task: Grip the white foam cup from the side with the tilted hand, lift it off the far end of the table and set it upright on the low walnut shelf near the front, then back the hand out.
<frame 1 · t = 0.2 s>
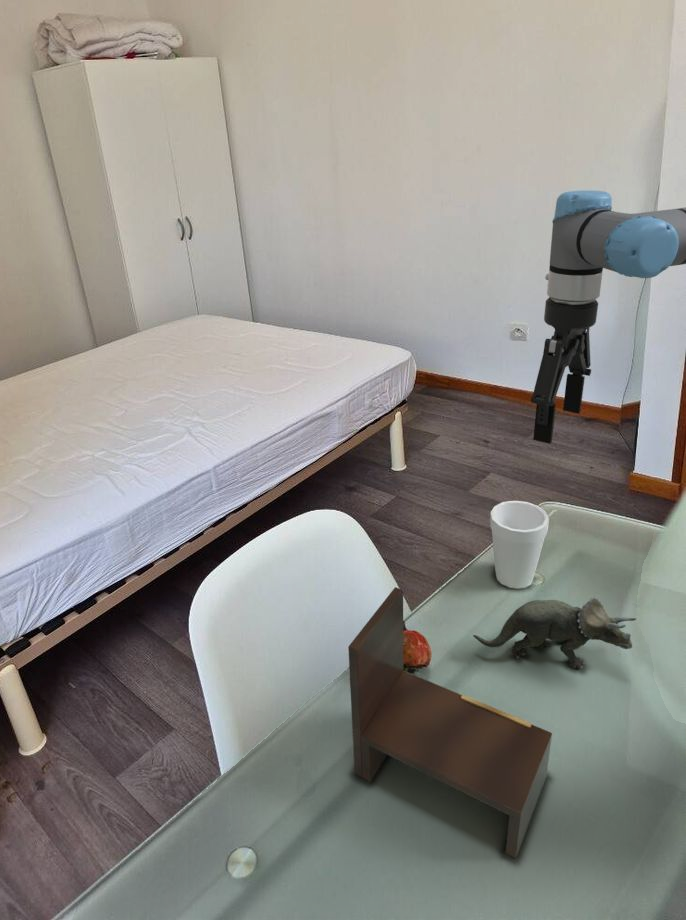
hand: (557, 425, 113), 28 cm above the table, tool pointing down, fingers open, 13 cm apart
pomegranate: (406, 671, 104), on the table
toy dinosaur: (546, 653, 106), on the table
shelf: (453, 777, 88), on the table
foam cup: (514, 577, 122), on the table
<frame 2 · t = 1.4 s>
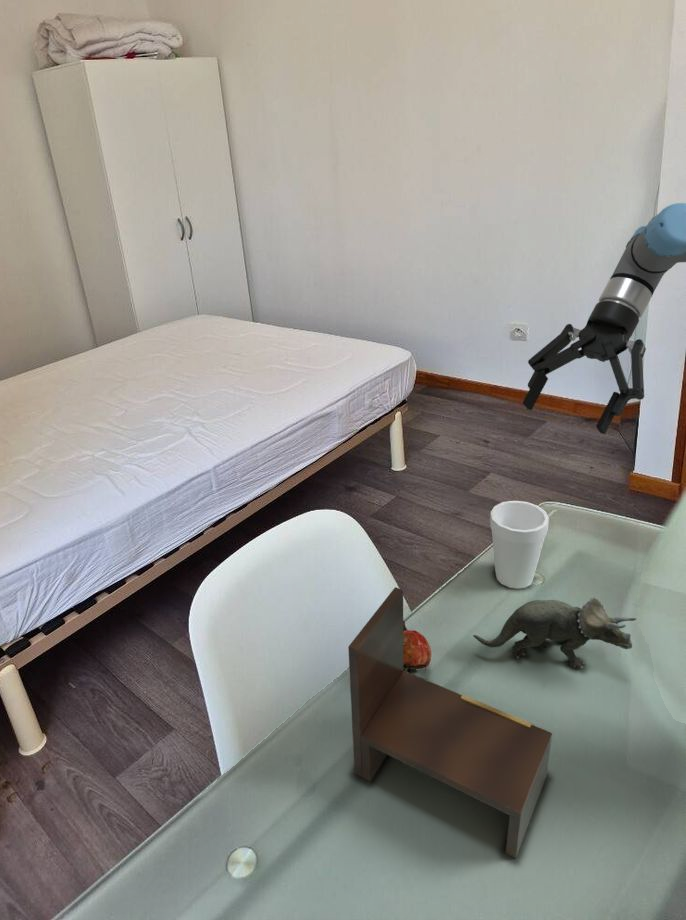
hand: (561, 418, 116), 28 cm above the table, tool tilted 45°, fingers open, 13 cm apart
nothing on the table moved.
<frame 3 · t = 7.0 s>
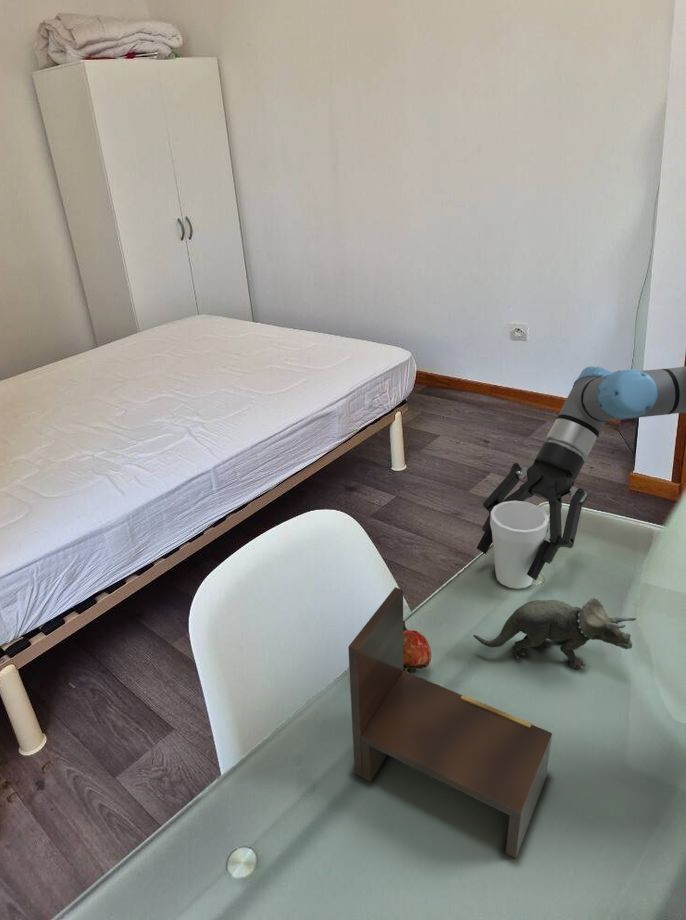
hand: (505, 563, 118), 5 cm above the table, tool tilted 45°, fingers closed on foam cup, 9 cm apart
foam cup: (514, 577, 122), on the table, touching gripper
everything else where it was.
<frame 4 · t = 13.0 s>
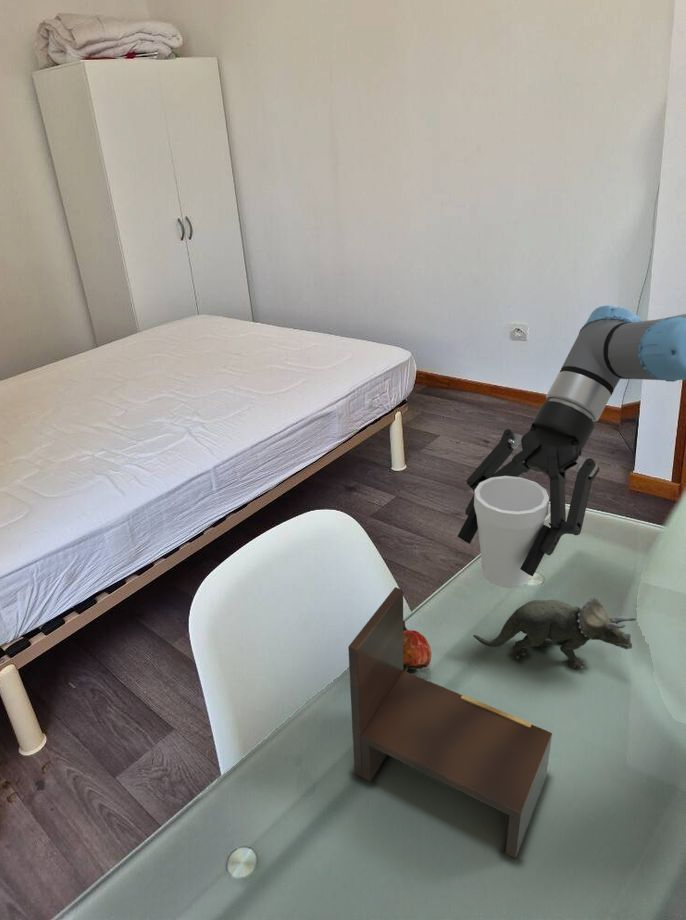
hand: (493, 555, 92), 22 cm above the table, tool tilted 45°, fingers closed on foam cup, 9 cm apart
foam cup: (505, 574, 96), point 17 cm above the table, touching gripper
everything else where it was.
when the fingers open (13 cm above the table, at t = 19.2 s): foam cup stays where it is, resting on shelf.
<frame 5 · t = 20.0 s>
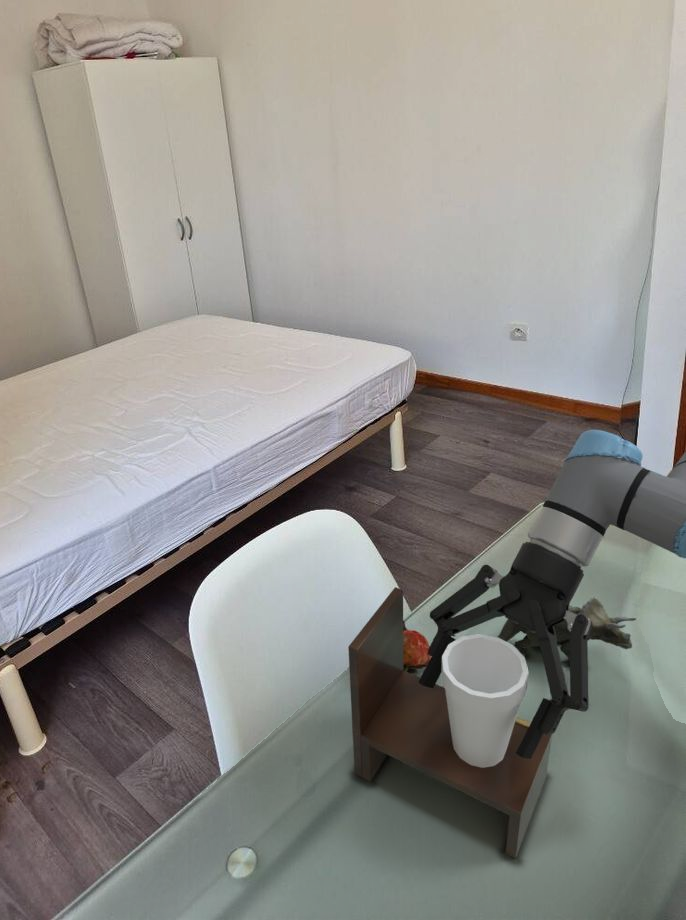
hand: (471, 719, 79), 14 cm above the table, tool tilted 45°, fingers open, 13 cm apart
foam cup: (479, 745, 83), point 8 cm above the table, touching shelf
everything else where it was.
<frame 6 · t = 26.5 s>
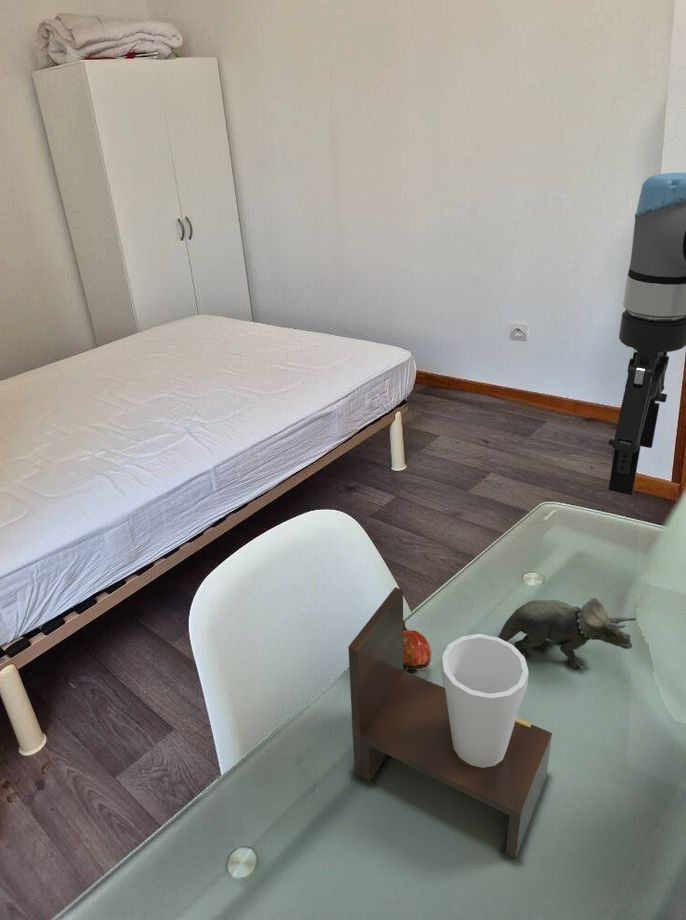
hand: (631, 467, 91), 33 cm above the table, tool pointing down, fingers open, 13 cm apart
nothing on the table moved.
at the end: foam cup inside the target area on the shelf (0.0 cm from its centre), point 7.8 cm above the shelf's base; foam cup tilted 0°; the gripper is holding nothing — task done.
